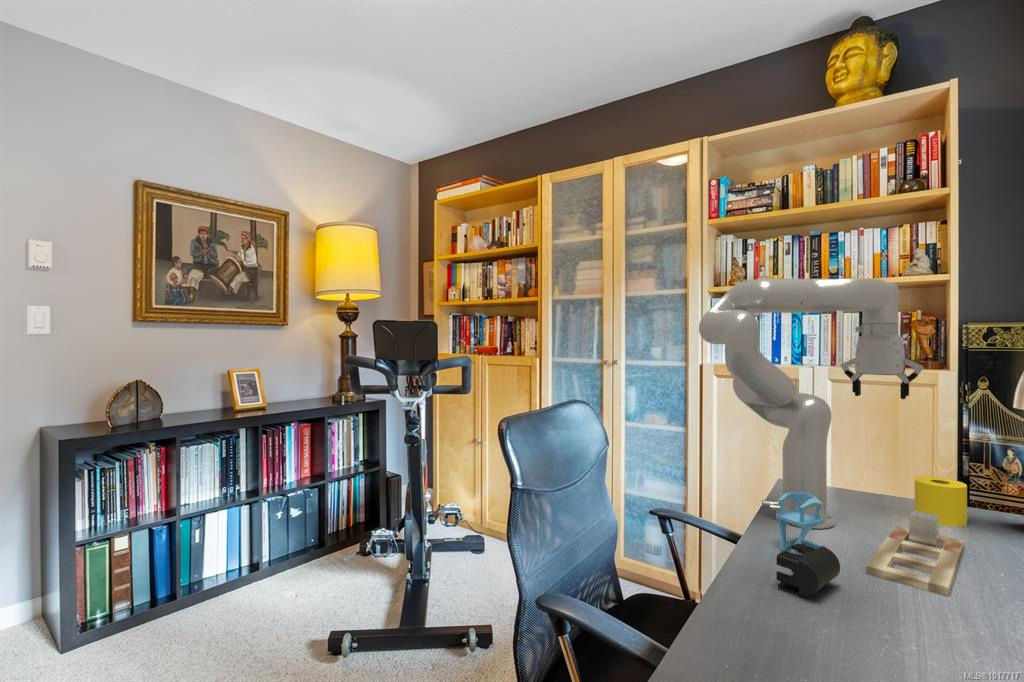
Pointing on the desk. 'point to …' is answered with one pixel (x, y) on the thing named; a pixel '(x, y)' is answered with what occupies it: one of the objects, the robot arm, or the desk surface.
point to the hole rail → (917, 561)
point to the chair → (798, 519)
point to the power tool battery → (807, 569)
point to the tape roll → (942, 499)
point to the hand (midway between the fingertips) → (880, 397)
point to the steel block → (924, 528)
